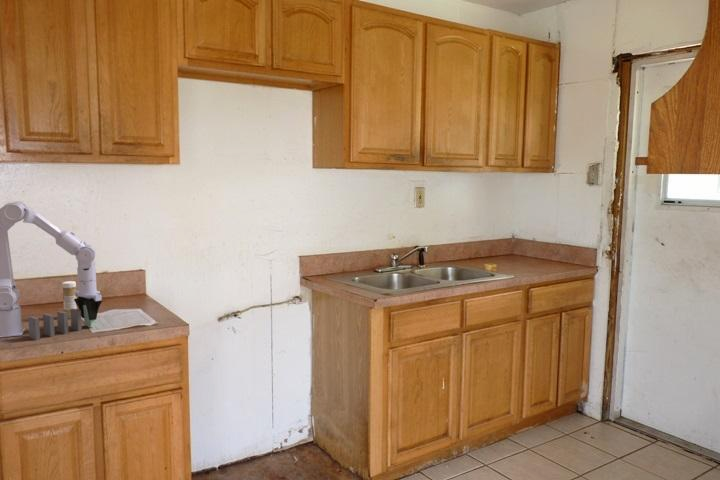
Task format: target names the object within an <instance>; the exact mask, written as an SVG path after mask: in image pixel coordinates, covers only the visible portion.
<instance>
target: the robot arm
mask: <svg viewBox="0 0 720 480" xmlns="http://www.w3.org/2000/svg"><path fill="white" fill-rule="evenodd" d="M22 220H23V221H22ZM20 221H22V223H24V224H25V223H27V224H33V225H35V226H37V227H38V228H39V229H41V230H42V231H44V232H45V233H46V234H49V235H50V236H51V237H53V238H54V239H55V244H56V245H57V246H59V247H60V248H61V249H63V250H65V251H66V252H67V253H68V254H69V255H70V256H75V259H76V260H77V268H76V269H77V272H76V273H77V289H78V290H77V289H76V291H75V296H76V299H74V301H75V302H76V304H77V309H78V310H81V319H84V311H83V305H86V308H87V311H88V317H89V320H94V321H95V320H97V317H98V312H99V309H100V306H101V304H102V303H103V299H102V294H101V291H99V290H98V289H97V272H96V270H97V268H96V266H95V265H96V261H95V257H96V251H95V249H94V247H93V246H92V245H90V244H88V242H87V241H85V240H84V241H83V240H81V238H79V237H78V236H76V233H75V232H74V231H70V230H61V229H60V228H58V226H56V225H55V224H54V223H52V222H51V221H49V220H48V219H47V218H46V217H44V216H43V215H42V214H41V213H39V212H38V211H36V210H35V209H34V208H32V207H29V206H27V204H25V203H24V202H21V201H13V202H8V203H6V204H5V205H3V206H2V207H1V208H0V338H8V337H18V336H22V335H24V332H25V330H26V328H23V323H22V310H21V308H22V307H21V304H19V300H20V298H21V292H20V290H19V288H18V287H17V285H16V281H15V278H14V274H13V273H14V272H13V266H12V257H11V256H12V255H11V249H10V248H11V247H10V241H9V233H8V232H9V230H10V229H11V228H12V227H13V226H14V225H15V224H16V223H20Z"/></svg>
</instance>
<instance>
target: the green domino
mask: <svg viewBox="0 0 720 480" xmlns="http://www.w3.org/2000/svg"><path fill="white" fill-rule="evenodd" d="M83 311H84V318H83V325H84V326H87V327H90V328H93V327H95V323H96V322H95V320H89V317H88V311H87V308H86V305H83Z"/></svg>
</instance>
